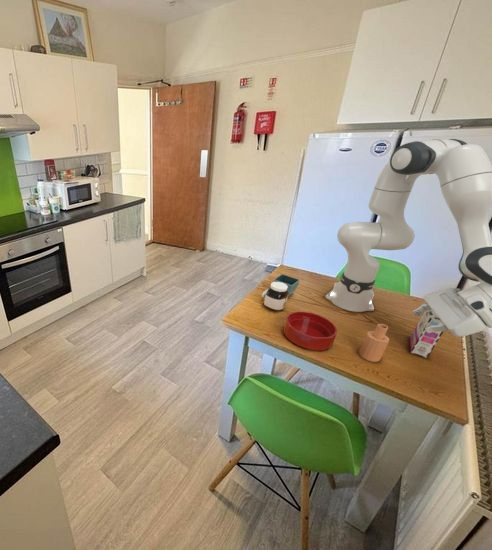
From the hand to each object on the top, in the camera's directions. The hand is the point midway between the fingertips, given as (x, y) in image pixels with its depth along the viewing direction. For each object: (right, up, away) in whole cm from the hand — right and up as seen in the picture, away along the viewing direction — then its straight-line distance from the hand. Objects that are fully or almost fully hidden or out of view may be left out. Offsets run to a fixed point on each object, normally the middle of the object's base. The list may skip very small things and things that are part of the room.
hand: (419, 321), depth 97 cm
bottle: (-7, -14, +11) cm, 20 cm away
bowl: (-24, -10, +21) cm, 34 cm away
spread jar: (-28, +1, +43) cm, 51 cm away
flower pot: (-19, +5, +50) cm, 53 cm away
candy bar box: (+14, -12, +14) cm, 23 cm away
